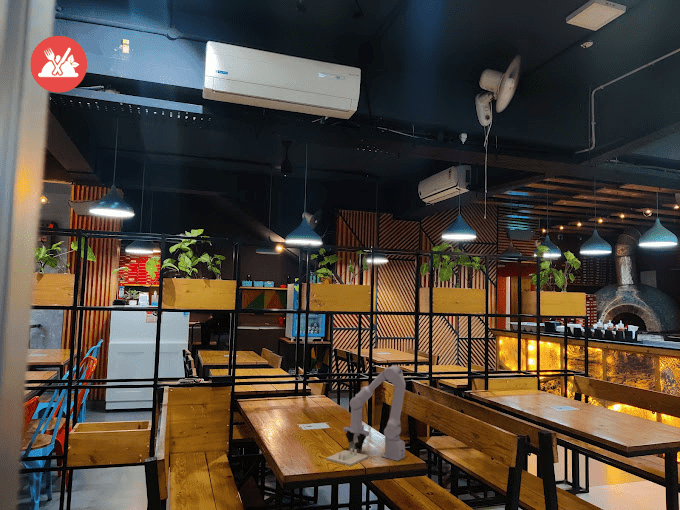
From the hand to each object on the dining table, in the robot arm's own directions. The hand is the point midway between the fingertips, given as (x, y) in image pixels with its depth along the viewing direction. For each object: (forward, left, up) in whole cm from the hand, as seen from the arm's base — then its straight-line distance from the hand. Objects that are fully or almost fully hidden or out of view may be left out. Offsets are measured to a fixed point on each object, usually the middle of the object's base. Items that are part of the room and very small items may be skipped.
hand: (355, 448), depth 255 cm
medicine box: (+9, -14, -2) cm, 17 cm away
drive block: (0, 0, -2) cm, 2 cm away
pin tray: (-4, +13, -1) cm, 14 cm away
